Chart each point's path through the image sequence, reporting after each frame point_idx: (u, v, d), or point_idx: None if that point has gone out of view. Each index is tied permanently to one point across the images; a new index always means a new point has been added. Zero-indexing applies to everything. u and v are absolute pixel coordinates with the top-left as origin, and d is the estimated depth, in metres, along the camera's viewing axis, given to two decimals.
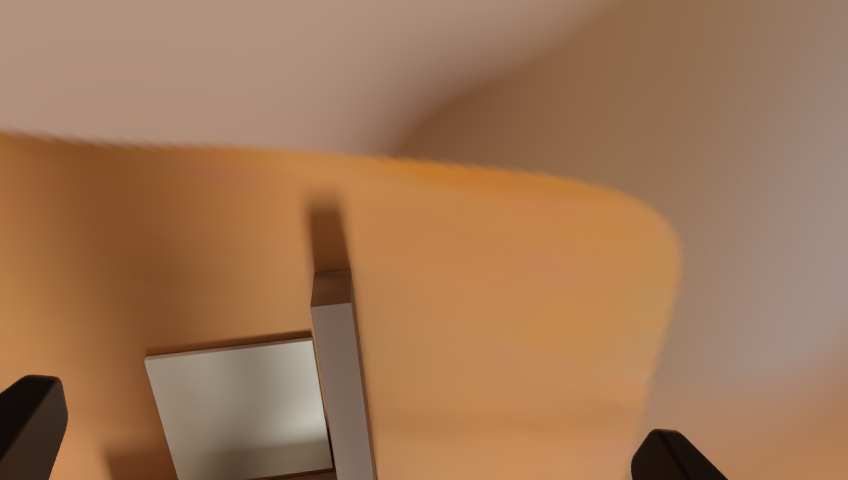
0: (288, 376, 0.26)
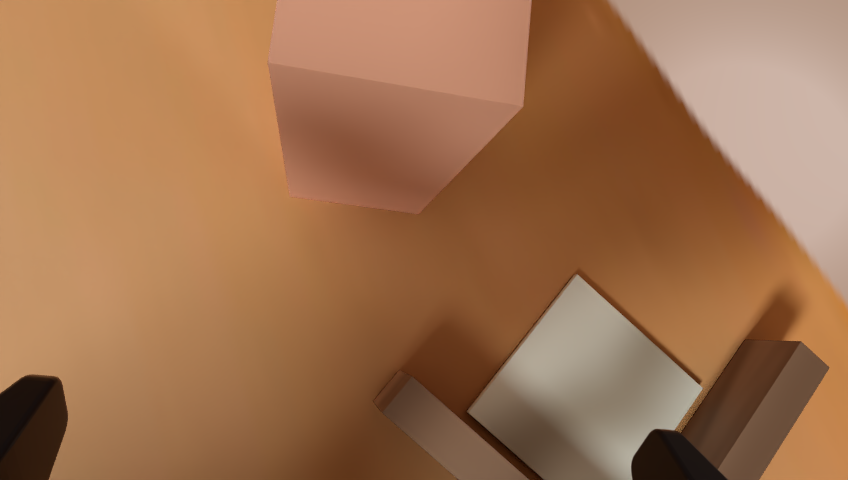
0: (657, 400, 0.24)
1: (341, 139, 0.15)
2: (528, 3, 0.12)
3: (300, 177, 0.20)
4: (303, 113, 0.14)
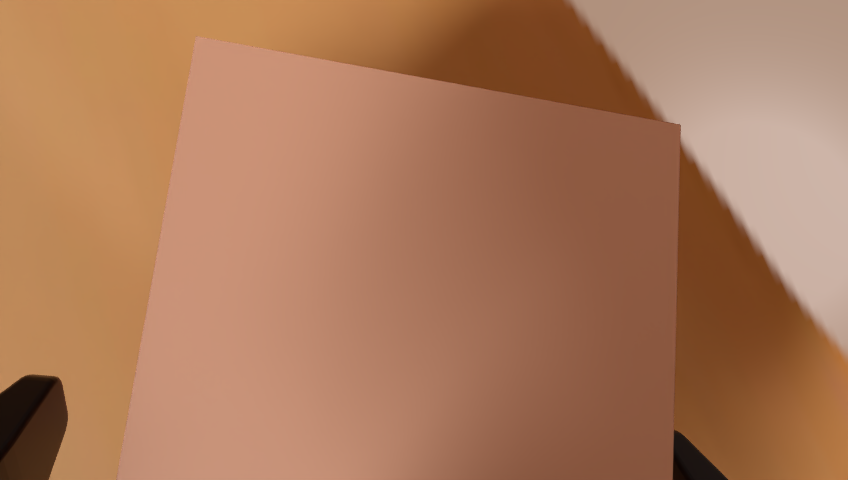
0: None
1: None
2: (670, 390, 0.06)
3: None
4: None
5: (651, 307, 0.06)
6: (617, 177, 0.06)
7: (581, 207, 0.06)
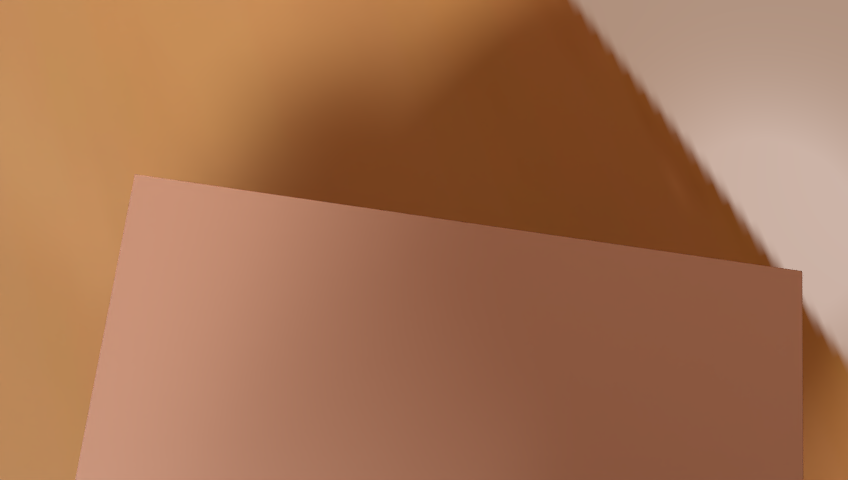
0: None
1: None
2: None
3: None
4: None
5: None
6: (721, 351, 0.05)
7: (674, 398, 0.04)
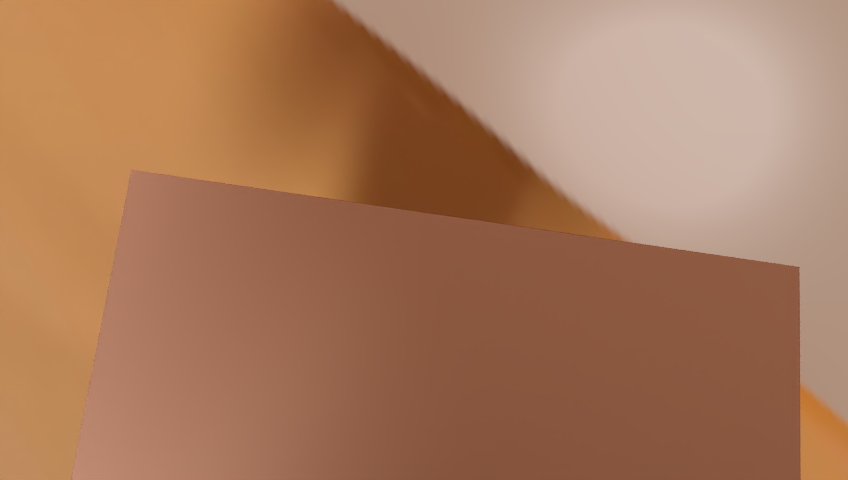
0: None
1: None
2: None
3: None
4: None
5: None
6: (718, 346, 0.05)
7: (670, 394, 0.04)
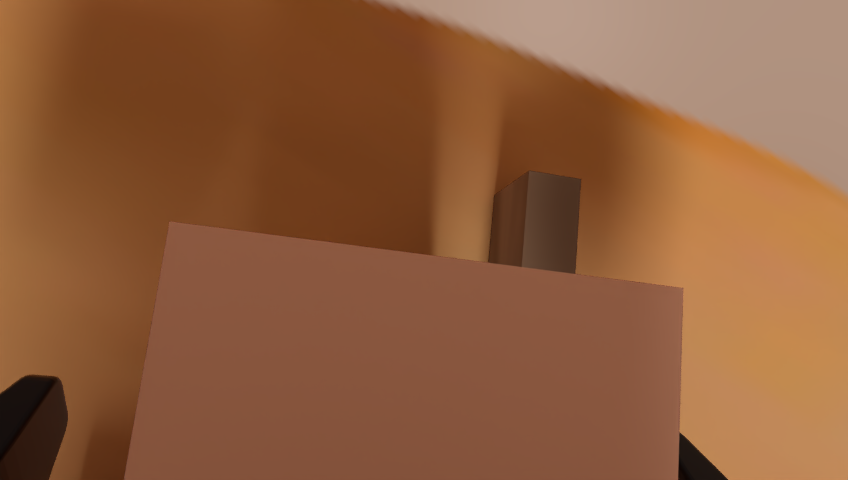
0: None
1: None
2: None
3: None
4: None
5: None
6: (616, 350, 0.06)
7: (577, 385, 0.06)
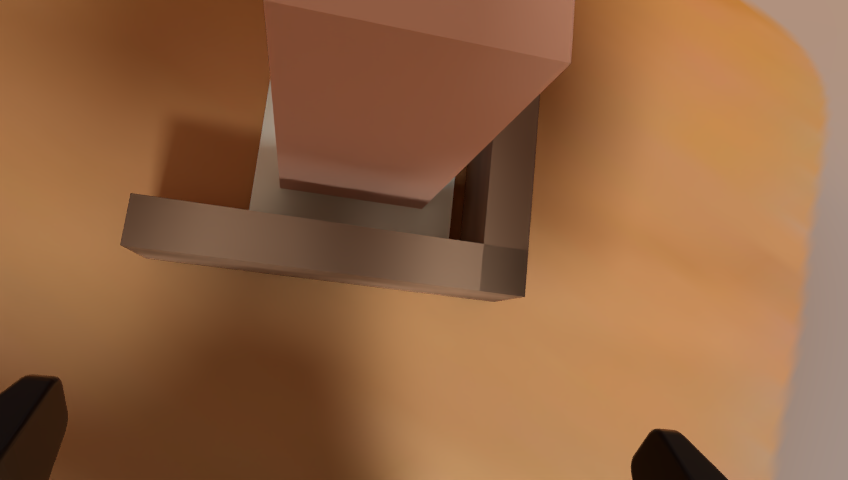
0: None
1: (345, 112, 0.13)
2: None
3: (293, 163, 0.17)
4: (302, 76, 0.12)
5: None
6: None
7: None
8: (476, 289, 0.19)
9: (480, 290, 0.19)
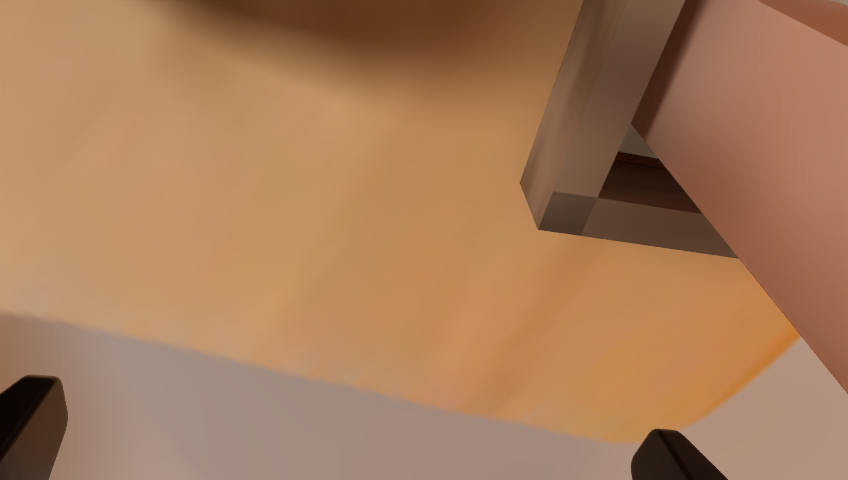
0: None
1: (834, 140, 0.12)
2: None
3: (746, 17, 0.15)
4: None
5: None
6: None
7: None
8: (555, 188, 0.19)
9: (552, 191, 0.19)
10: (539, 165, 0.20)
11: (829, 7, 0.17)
